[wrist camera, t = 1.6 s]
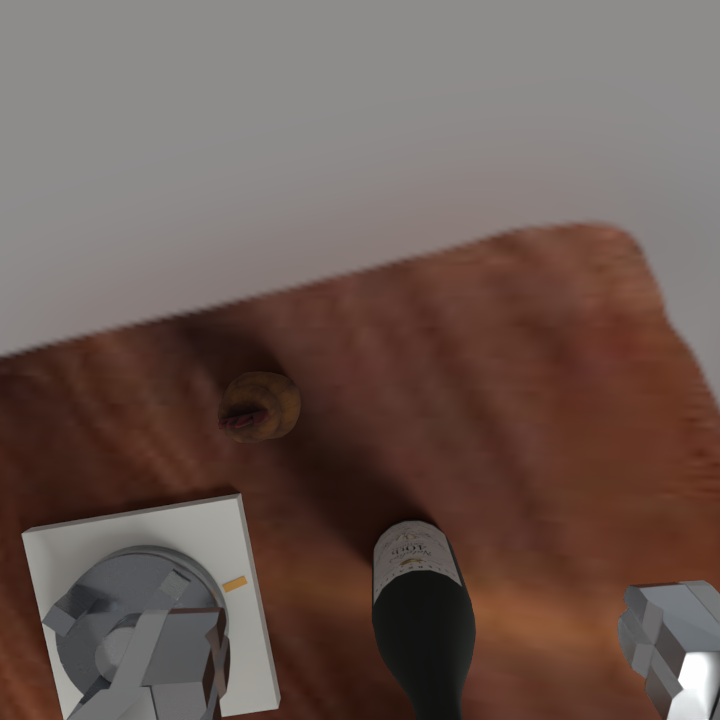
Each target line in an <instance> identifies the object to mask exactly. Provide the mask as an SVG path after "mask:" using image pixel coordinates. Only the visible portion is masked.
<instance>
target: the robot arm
mask: <svg viewBox="0 0 720 720" xmlns="http://www.w3.org/2000/svg"><path fill="white" fill-rule="evenodd" d="M623 600H624V602H625V603H626V605H627V606H628V607H629V608H628V609H627V610H626V611H625V612H624V613H623V614H622V615H621V616H620V617H619V623H618V628H617V631H618V637H619V643H620V646H621V649H622V651H623V654H624V656H625V658H626V660H627V661H628V663H629V665H630V667H631V668H632V669H634V670H635V671H636V672H638V673H639V674H640V675H642V676H643V677H645V678H646V679H645V689H644V690H645V691H646V693H647V695H648V696H649V698H650V700H651V701H652V703H653V704H654V706H655V708H656V709H657V711H658V713H659V714H660V716H661V718H662V719H663V720H720V594H719V593H718V592H717V591H716V590H715V589H714V588H713V586H711V585H710V584H709V583H707V582H705V581H687V582H678V583H676V582H669V583H654V584H638V585H630V586H629V587H628V588H627V589H626V591H625V595H624V599H623ZM226 623H227V620H226V614H225V609H224V608H222V607H213V608H176V609H157V610H145V611H144V612H143V614H142V615H141V616H140V617H139V619H138V622H137V624H136V626H135V629H134V631H133V634H132V636H131V638H130V641H129V643H128V645H127V648H126V650H125V652H124V655H123V657H122V659H121V662H120V664H119V666H118V669H117V671H116V674H115V676H114V678H113V681H112V683H111V685H110V688H109V689H103V690H100V691H99V692H98V693H96V694H95V695H94V696H93V697H92V698H91V699H90V700H89V701H88V702H86V703H85V704H84V705H83V706H82V707H81V708H80V709H79V710H78V711H77V712H75V713H74V714H73V715H72V716H71V717H70V718H69V719H68V720H221V718H222V715H221V708H220V699H221V698H222V697H223V696H224V695H225V694H226V692H227V687H228V681H229V673H230V662H231V656H230V641H229V638H228V637H227V636H226V635H225V634H224V632H225V627H226Z"/></svg>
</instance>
